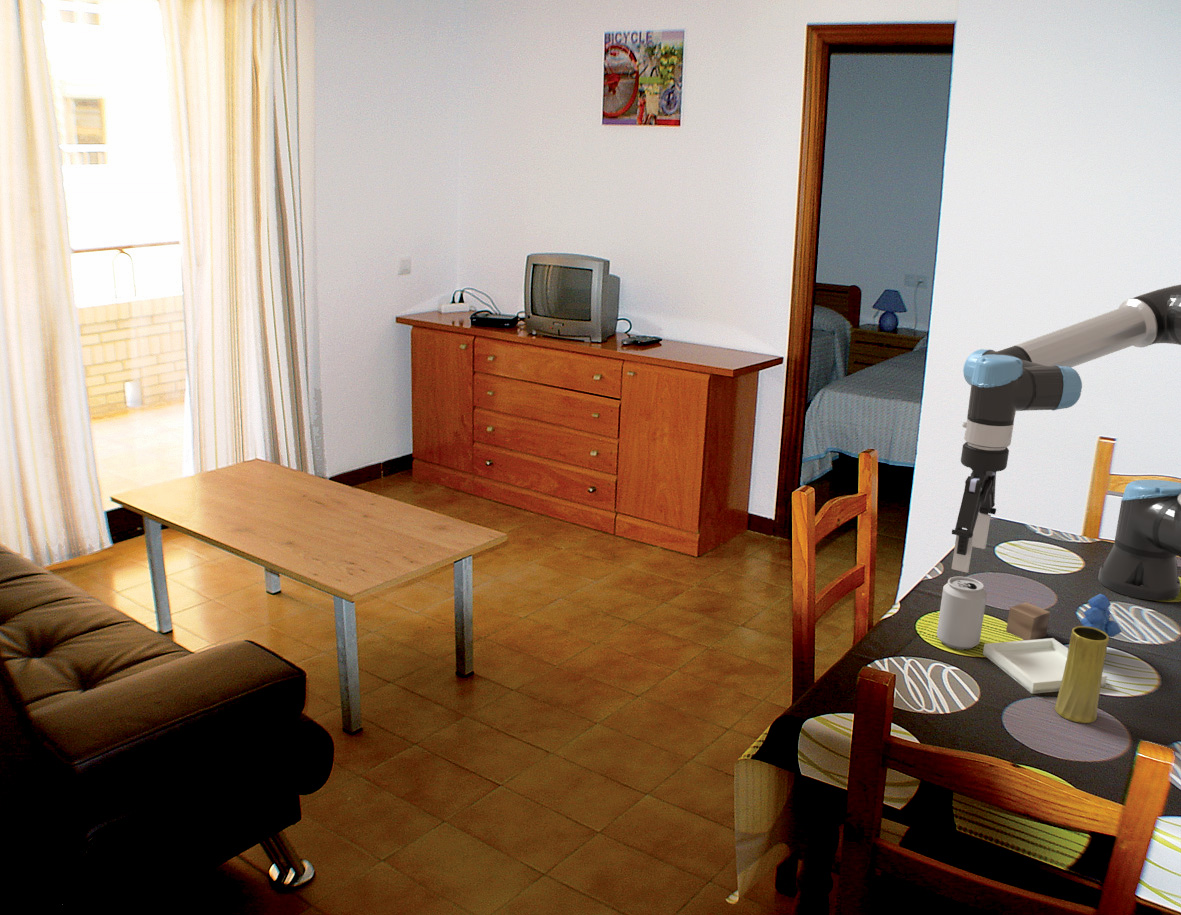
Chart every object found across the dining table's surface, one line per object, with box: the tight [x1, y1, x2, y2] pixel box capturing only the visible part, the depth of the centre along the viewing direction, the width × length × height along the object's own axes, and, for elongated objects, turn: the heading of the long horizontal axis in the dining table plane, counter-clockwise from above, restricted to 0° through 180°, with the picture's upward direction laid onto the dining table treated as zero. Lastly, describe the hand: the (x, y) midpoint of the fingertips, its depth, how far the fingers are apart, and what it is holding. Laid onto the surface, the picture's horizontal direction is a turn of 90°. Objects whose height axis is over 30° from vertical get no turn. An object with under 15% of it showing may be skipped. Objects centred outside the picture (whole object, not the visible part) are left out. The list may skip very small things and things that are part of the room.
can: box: [936, 576, 988, 650], centre depth 178 cm, size 8×8×12 cm
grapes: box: [1079, 593, 1123, 638], centre depth 174 cm, size 12×7×12 cm, turn 143°
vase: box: [1054, 625, 1110, 724], centre depth 155 cm, size 6×6×14 cm
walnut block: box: [1005, 601, 1051, 641], centre depth 183 cm, size 5×5×5 cm
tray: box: [982, 637, 1108, 695], centre depth 170 cm, size 14×14×2 cm
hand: (969, 558), depth 175 cm, fingers open, 13 cm apart
